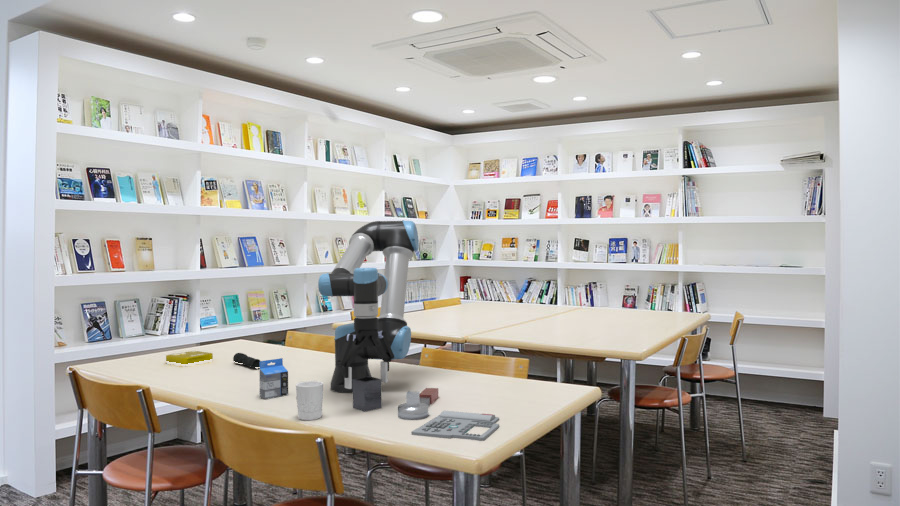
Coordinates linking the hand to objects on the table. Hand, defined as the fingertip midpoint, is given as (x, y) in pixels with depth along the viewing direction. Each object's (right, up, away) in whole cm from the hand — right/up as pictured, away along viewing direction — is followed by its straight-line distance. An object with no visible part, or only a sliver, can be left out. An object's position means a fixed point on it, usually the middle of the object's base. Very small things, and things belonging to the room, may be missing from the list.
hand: (366, 385), depth 199 cm
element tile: (-90, -8, +85) cm, 124 cm away
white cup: (-15, -8, -10) cm, 20 cm away
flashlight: (-61, -8, +75) cm, 97 cm away
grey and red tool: (+17, -7, 0) cm, 19 cm away
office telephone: (+29, -8, -21) cm, 37 cm away
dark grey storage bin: (0, -7, +1) cm, 7 cm away
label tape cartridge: (-34, -8, +18) cm, 39 cm away
